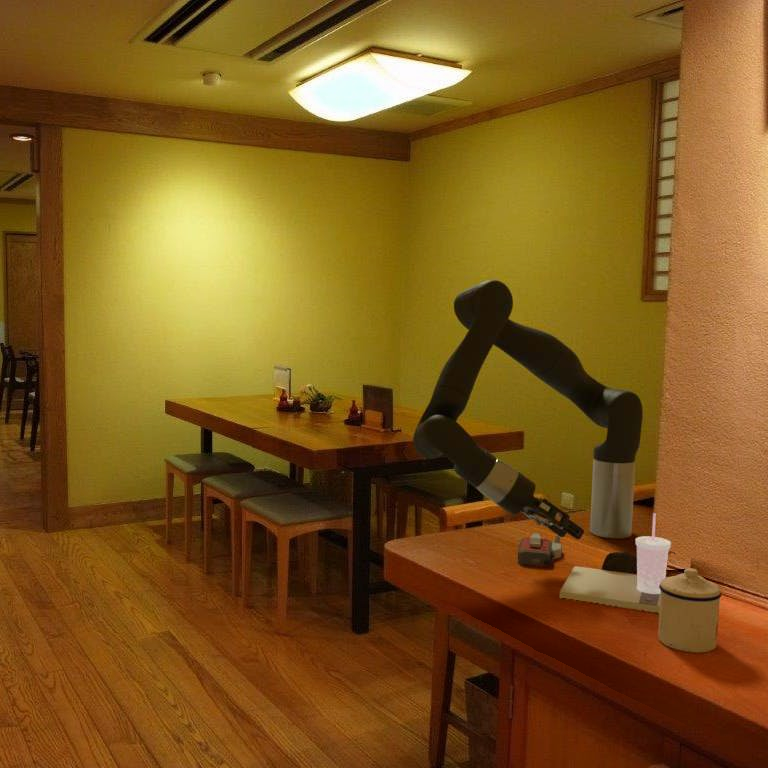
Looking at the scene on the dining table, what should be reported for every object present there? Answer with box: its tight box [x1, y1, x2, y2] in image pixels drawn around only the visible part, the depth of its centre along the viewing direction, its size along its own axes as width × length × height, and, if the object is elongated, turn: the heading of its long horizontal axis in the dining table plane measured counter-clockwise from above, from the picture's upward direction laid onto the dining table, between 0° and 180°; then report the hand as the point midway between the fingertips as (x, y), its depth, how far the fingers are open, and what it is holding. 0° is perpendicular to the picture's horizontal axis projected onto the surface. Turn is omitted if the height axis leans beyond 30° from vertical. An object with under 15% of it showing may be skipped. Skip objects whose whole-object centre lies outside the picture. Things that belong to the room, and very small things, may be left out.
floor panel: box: [559, 565, 660, 614], centre depth 152 cm, size 16×24×2 cm, turn 68°
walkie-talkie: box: [517, 532, 563, 567], centre depth 176 cm, size 9×4×20 cm
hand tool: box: [601, 551, 637, 574], centre depth 165 cm, size 19×4×5 cm, turn 103°
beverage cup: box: [635, 512, 672, 594], centre depth 150 cm, size 6×6×14 cm
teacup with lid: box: [657, 567, 722, 654], centre depth 131 cm, size 12×9×12 cm
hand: (573, 534), depth 161 cm, fingers open, 8 cm apart
